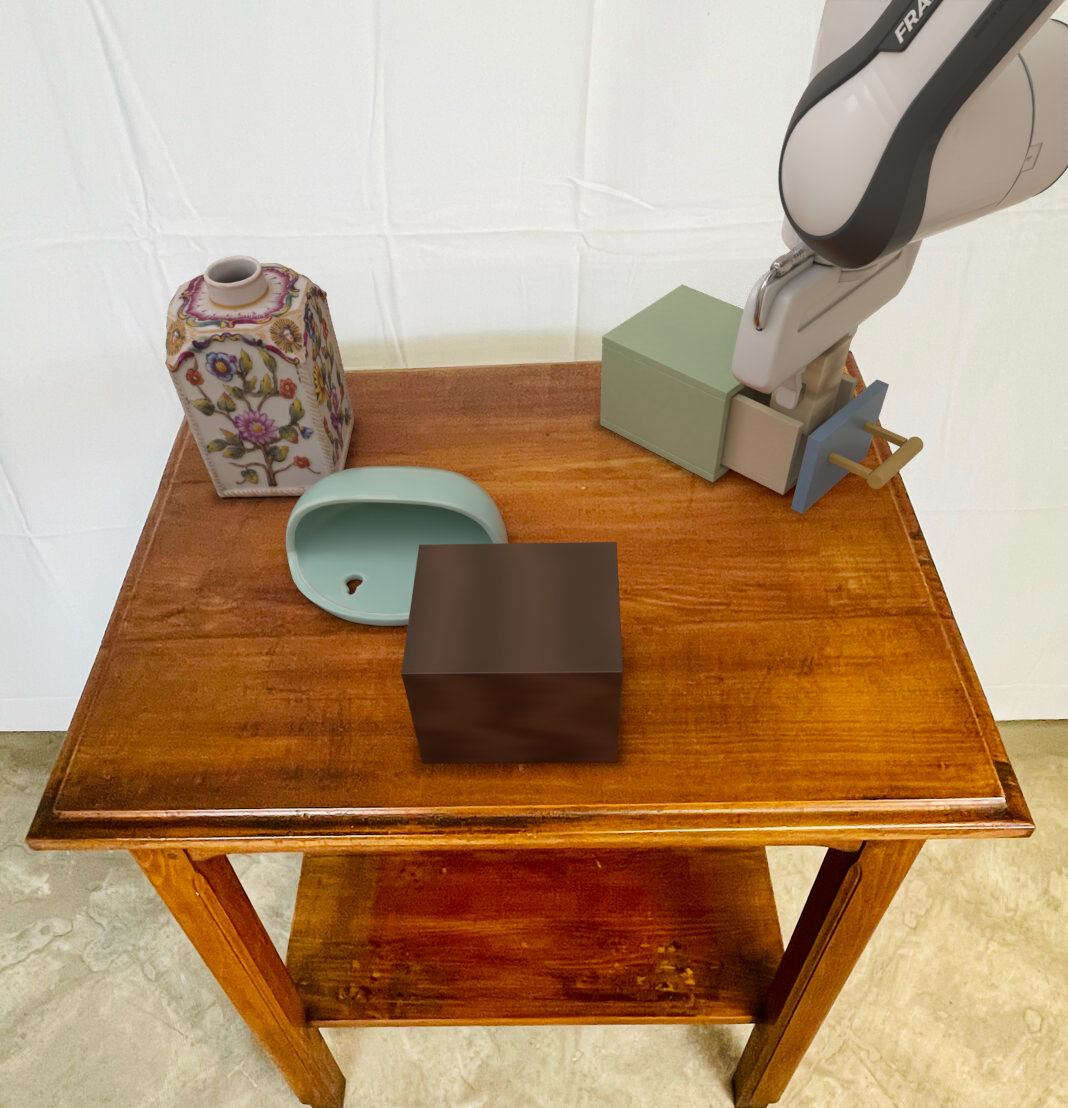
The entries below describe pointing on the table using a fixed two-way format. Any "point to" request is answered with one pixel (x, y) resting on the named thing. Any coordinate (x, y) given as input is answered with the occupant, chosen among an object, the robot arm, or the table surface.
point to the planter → (381, 535)
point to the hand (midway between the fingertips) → (806, 388)
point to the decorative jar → (259, 377)
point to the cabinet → (673, 378)
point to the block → (818, 387)
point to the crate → (515, 653)
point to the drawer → (811, 443)
